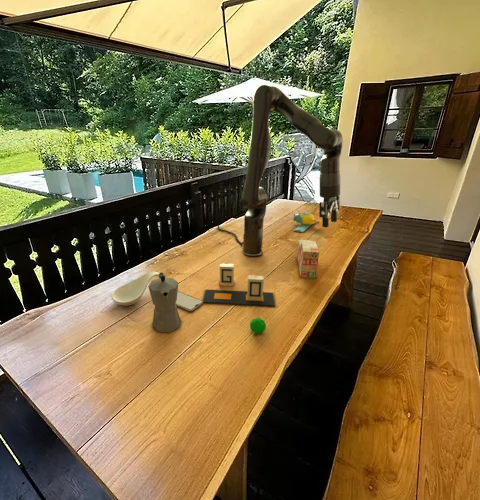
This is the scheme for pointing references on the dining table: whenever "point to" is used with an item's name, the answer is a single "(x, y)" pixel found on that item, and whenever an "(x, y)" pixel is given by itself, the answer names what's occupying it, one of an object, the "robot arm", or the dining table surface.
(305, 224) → the toy airplane
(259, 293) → the upright beige pillar
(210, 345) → the dining table surface
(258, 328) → the polyhedron
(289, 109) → the robot arm
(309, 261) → the stack of blocks
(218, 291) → the word mat
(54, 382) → the dining table surface
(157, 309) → the coffeepot
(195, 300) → the smartphone
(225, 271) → the cream oblong block
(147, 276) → the spoon rest
